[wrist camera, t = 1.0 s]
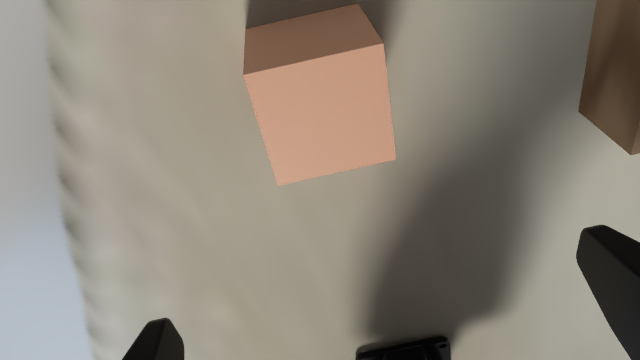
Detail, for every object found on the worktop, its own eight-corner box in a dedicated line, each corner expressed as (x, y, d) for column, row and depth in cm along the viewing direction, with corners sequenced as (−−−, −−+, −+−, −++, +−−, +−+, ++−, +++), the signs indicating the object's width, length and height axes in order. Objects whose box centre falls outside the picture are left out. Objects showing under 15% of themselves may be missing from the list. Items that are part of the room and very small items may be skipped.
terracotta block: (371, 103, 21) (395, 159, 17) (273, 125, 21) (277, 185, 17) (357, 2, 18) (383, 43, 14) (245, 28, 18) (243, 75, 15)
